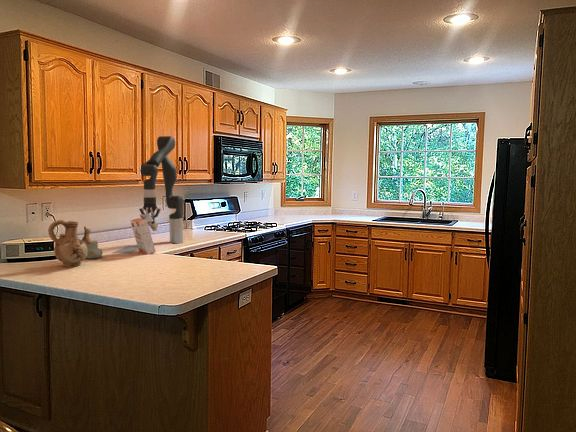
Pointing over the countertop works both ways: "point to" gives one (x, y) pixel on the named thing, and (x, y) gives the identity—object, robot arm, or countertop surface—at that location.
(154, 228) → the turner
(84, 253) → the ceramic vessel
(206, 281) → the countertop surface
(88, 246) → the air freshener
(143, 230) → the cracker box
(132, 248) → the mat
